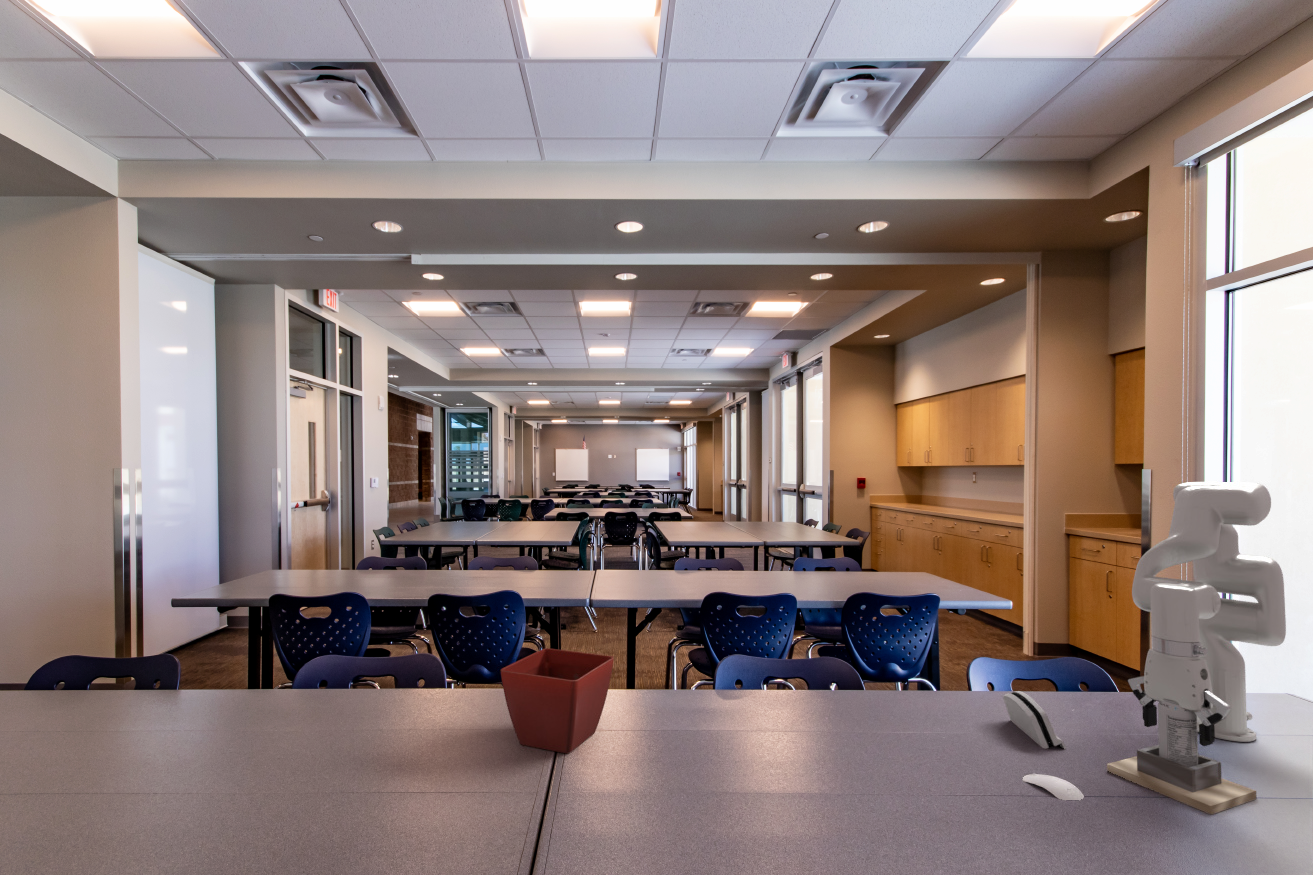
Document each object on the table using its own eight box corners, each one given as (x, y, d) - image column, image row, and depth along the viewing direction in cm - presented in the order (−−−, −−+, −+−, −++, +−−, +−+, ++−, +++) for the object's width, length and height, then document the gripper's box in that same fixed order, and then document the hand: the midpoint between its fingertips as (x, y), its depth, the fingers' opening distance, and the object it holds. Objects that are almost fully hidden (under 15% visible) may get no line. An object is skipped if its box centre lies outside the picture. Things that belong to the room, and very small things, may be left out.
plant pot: (495, 747, 139) (498, 668, 140) (543, 717, 157) (545, 646, 158) (573, 764, 132) (575, 680, 133) (614, 730, 150) (615, 656, 151)
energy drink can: (1192, 772, 129) (1190, 696, 129) (1203, 786, 123) (1201, 706, 124) (1155, 766, 131) (1153, 691, 132) (1164, 779, 126) (1162, 701, 127)
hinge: (1067, 749, 143) (1050, 705, 144) (1046, 755, 143) (1029, 711, 144) (1031, 720, 159) (1016, 681, 160) (1012, 726, 160) (997, 687, 161)
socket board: (1151, 759, 139) (1150, 733, 139) (1256, 798, 122) (1255, 768, 122) (1107, 771, 133) (1106, 743, 133) (1211, 814, 116) (1210, 783, 116)
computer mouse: (1035, 772, 133) (1035, 761, 133) (1093, 801, 121) (1093, 788, 122) (1011, 777, 130) (1011, 766, 130) (1068, 807, 119) (1068, 794, 119)
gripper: (1238, 657, 122) (1241, 749, 121) (1139, 635, 138) (1141, 716, 137) (1216, 661, 119) (1219, 755, 118) (1117, 638, 135) (1119, 721, 134)
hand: (1177, 734), depth 128 cm, fingers open, 9 cm apart
